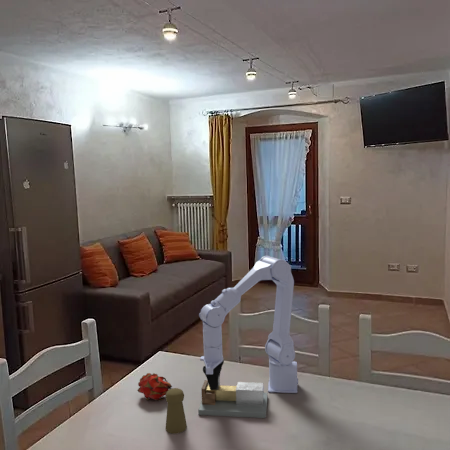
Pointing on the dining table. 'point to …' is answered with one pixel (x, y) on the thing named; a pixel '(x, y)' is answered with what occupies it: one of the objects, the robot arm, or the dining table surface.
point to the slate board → (234, 409)
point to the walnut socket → (207, 395)
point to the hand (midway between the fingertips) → (214, 386)
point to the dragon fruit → (153, 386)
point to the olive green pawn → (175, 411)
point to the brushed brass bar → (223, 392)
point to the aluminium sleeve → (249, 394)
